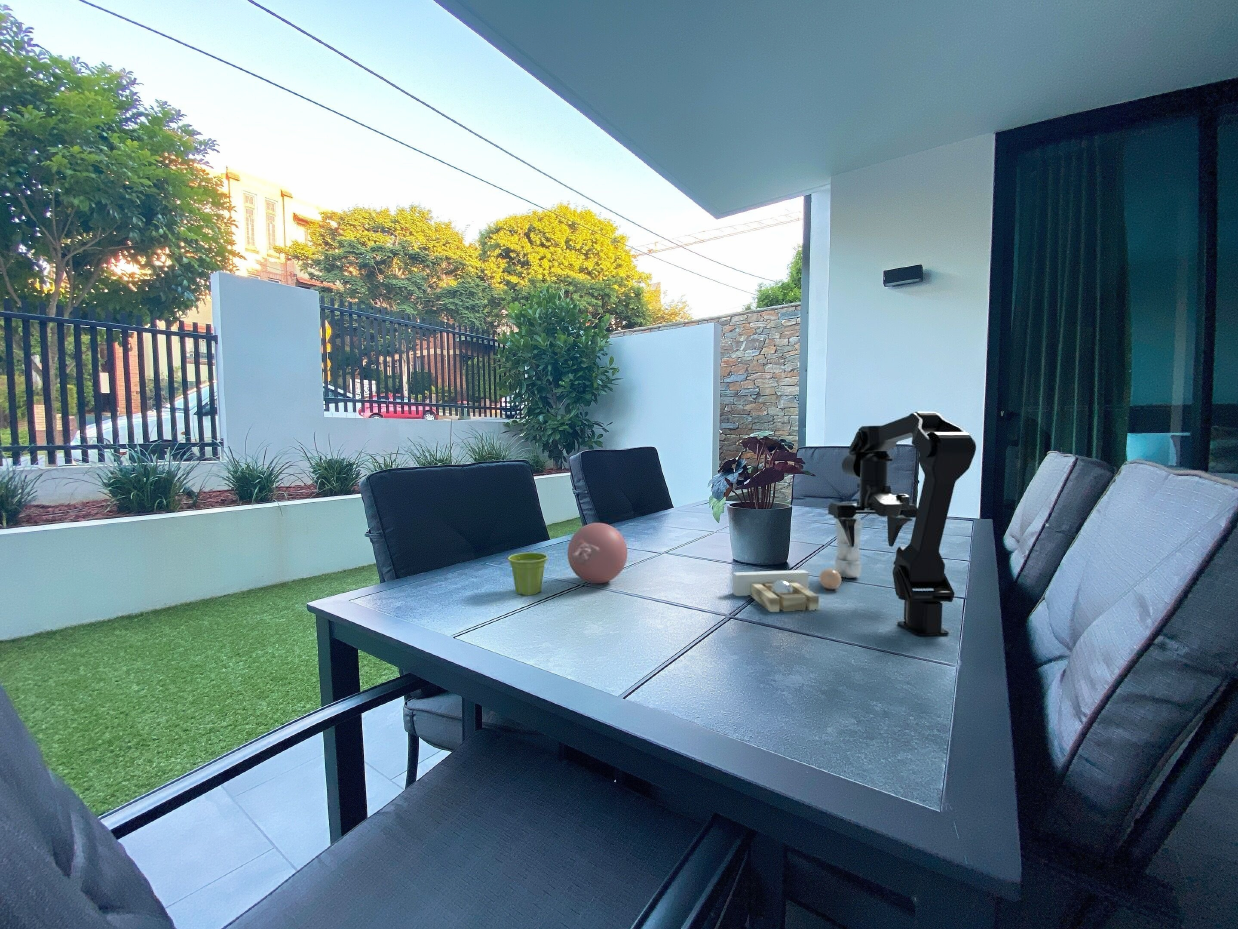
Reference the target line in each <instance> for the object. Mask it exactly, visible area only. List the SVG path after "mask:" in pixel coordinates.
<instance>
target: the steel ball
mask: <svg viewBox="0 0 1238 929" xmlns="http://www.w3.org/2000/svg"><path fill="white" fill-rule="evenodd" d="M771 592H772V593H773V594H775V595H776V596H777V597H779V598H780V595H790V594H794V591H793V587H792V586H791V584H790V583H788V582H787V581H784V580H778V581H776V582H775V583H773V585H772V586H771ZM779 603H780V600H779Z"/></svg>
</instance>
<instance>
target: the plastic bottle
mask: <svg viewBox="0 0 1238 929" xmlns="http://www.w3.org/2000/svg"><path fill="white" fill-rule="evenodd" d="M841 503H848V504H852V505H854V506H858V505H857V502H853V501H842V502H841ZM853 518H854V519H857V521H856V523H855V525H854V536H855V542H854V547H851V546H850V544H849V542H848V539H847V537H846V534H845V532H844V530H843V528H842V526H841V524H840V522H839V520H838V519H836V518H835V521H834V524H835V532H836V533H835V534H836V555H835V560H834V564H833V569H834V570H836V571H837V572H838V573H839V574H840V576H841V578H845V577H846V579H851V578H858V577H859V576H860V575H861V573H862V562H861V557H860V542H861V541H860V539H861V534H862V533H861V532H862V527H863V523H862V519H861V517H860V515H859V514H856V515H855V516H854V517H853Z"/></svg>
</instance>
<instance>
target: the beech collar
mask: <svg viewBox="0 0 1238 929" xmlns="http://www.w3.org/2000/svg"><path fill="white" fill-rule="evenodd" d="M788 583H790V584H791V586H792V587H793V591H794V594H790V595H780V598H779V597H777V596H776V595H775V594H773V593H772V592H771V586H772V585H773V583H763V586H762V585H761V584H760V583H751V595H750V597H751V598H753V599H754V600H755V601H757V603H758V604H760V605H761V606H763V607H764V609H766V610H767V611H768V612H770V613H775V612H776V613H778V612H780V610H781V611H782V610H783V612H796V611H795V610H803V611H806V609H807V608H808V609H807V610H809V611H819V606H820V604H819V603H820V602H819V601H820V596H819V595H817V594H816V593H814V592H813V591H811V590H809V588H808V589H806V588H804V587H803V586H801V585H800V584H798V583H796V582H788ZM779 600H780V602H779ZM806 607H807V608H806ZM815 609H816V610H815Z"/></svg>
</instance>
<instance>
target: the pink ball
mask: <svg viewBox="0 0 1238 929" xmlns="http://www.w3.org/2000/svg"><path fill="white" fill-rule="evenodd" d="M567 559H568V564H569V566H570V568H571V570H572V572H573V573H574V574H575V575H576V576H577V577H578V578H579V579H581V580H582V581H585V582H587V583H591V584H605V583H607V582H610V581H612V580H614V579H615V578H616V577H617V576H618V575H620V574H621V572H623V569H624V567H625V566H626V563H627V560H628V546H627V543H626V540H625V538H624V537H623V535H622V533H621V532H619V530H618V529H616V528H615V527H614V526H611V525H609V524H607V523H602V522H592V523H589V524H586V525H583V526H581V528H579V529H578V530H577V531H575V533H574V534H573V535H572V537H571V538H570V540H569V543H568V547H567Z"/></svg>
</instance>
